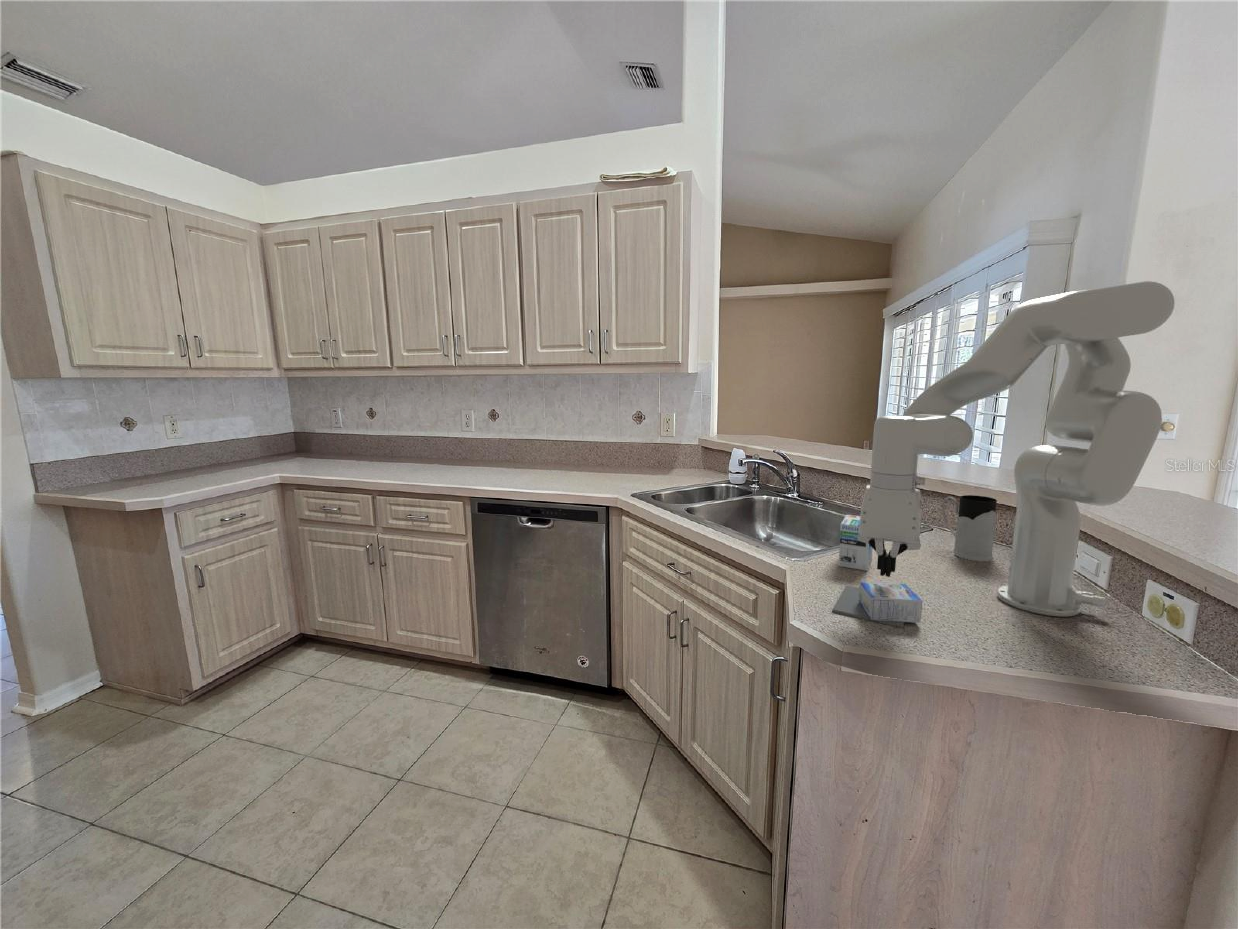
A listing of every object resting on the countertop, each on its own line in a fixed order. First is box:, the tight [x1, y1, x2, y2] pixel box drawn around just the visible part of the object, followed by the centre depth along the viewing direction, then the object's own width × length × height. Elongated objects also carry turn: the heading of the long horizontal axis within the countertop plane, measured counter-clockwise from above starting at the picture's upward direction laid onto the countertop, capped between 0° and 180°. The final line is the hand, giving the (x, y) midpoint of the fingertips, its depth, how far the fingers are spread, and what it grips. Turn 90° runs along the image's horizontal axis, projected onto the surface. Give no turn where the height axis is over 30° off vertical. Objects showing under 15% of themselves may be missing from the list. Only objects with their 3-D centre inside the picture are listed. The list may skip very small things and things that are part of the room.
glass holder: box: [941, 494, 998, 562], centre depth 127 cm, size 9×14×15 cm, turn 14°
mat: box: [831, 584, 906, 629], centre depth 97 cm, size 12×14×1 cm
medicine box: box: [858, 581, 923, 624], centre depth 93 cm, size 8×4×9 cm
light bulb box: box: [838, 514, 874, 572], centre depth 121 cm, size 11×7×11 cm, turn 148°
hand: (885, 574), depth 95 cm, fingers closed
